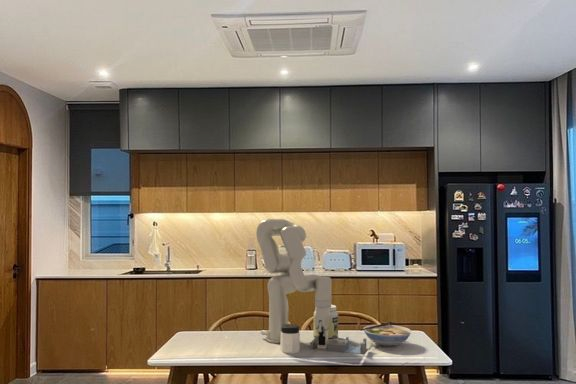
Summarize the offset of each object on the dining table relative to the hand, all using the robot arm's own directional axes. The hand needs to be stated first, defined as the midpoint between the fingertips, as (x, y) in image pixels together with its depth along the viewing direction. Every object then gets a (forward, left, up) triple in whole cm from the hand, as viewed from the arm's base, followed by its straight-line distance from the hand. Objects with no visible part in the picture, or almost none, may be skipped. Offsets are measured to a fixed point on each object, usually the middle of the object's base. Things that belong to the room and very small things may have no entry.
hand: (322, 343), depth 231 cm
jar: (-13, -10, -3) cm, 17 cm away
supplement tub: (-3, +18, -3) cm, 18 cm away
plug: (0, 0, -2) cm, 2 cm away
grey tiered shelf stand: (+7, 0, -3) cm, 8 cm away
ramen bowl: (+27, +19, -3) cm, 33 cm away
